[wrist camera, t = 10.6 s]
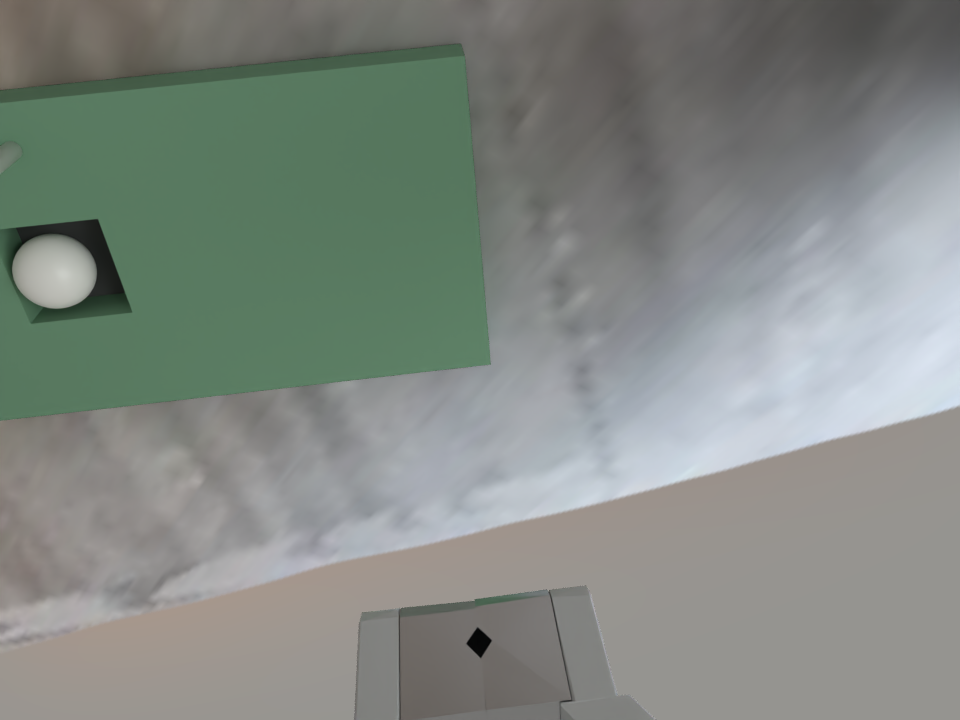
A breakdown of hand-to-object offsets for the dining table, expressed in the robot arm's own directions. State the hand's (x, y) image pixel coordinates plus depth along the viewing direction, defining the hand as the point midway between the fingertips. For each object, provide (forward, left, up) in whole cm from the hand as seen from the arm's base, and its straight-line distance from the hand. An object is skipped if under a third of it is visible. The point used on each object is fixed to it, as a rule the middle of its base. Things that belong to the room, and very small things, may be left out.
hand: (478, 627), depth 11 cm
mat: (+12, +7, -31) cm, 34 cm away
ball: (+18, +7, -29) cm, 35 cm away
